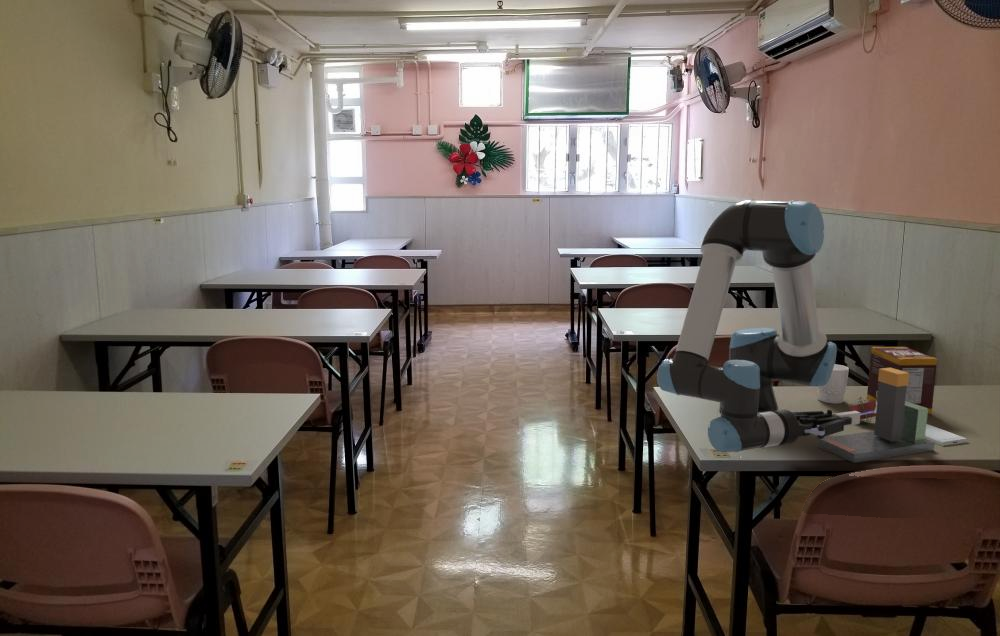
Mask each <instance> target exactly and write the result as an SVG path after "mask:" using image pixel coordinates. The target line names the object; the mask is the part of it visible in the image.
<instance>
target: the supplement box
mask: <svg viewBox="0 0 1000 636" xmlns="http://www.w3.org/2000/svg"><path fill="white" fill-rule="evenodd" d="M937 365H938V359H937V358H936V357H933V356H930V355H928V354H925V353H924V352H923V353H922V352H920V351H918V350H914V349H912V348H909V347H907V346H871V353H870V361H869V369H868V370H869V371H868V372H869V373H868V380H867V382H868V383H867V393H866V399H867V401H869V402H871V401H875V400H876V402H877V400H878V390H879V381H878V376H879V369H881V368H894V369H897V370H901V371H904V372H908V373H909V382H908V386H907V388H906V397H905V401H907V402H910V403H913V404H916V405H919V406H922V407H925V408H928V414H927V415H932V413H933V405H934V395H935V393H934V392H935V384H936V373H937Z"/></svg>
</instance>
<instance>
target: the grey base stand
mask: <svg viewBox="0 0 1000 636" xmlns="http://www.w3.org/2000/svg"><path fill="white" fill-rule="evenodd" d="M928 415H929V414H928V408H925V407H922V406H919V405H916V404H913V403H910V402H907V401H905V406H904V416H903V425H902V435H901V440H897V441H889V440H886V439H884V438H881V437H879V436H876V435H874V430H871V431H864V432H857V433H849V434H843V435H841V434H840V435H835V436H830V437H829V436H826V437H824V438H823V439H819V438H818V445H817V447H819V448H820V449H822V450H824V451H828V452H830V453H831V454H834V455H836V456H838V457H839V458H842V459H845V460H847V461H848V462H851V463H854V464H855V463H862V462H868V461H875V460H880V459H887V458H892V457H893V458H894V457H900V456H901V457H902V456H907V455H912V454H918V453H919V454H920V453H925V452H926V453H927V452H933V451H932V450H934V451H935V444H936V443H935V442H932V441H930V440H927V439H925V432H926V424H928V423H927V420H928Z"/></svg>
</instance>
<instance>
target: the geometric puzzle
mask: <svg viewBox="0 0 1000 636" xmlns="http://www.w3.org/2000/svg"><path fill="white" fill-rule="evenodd" d="M858 399H859V400H858V402H853V403H851V405H848V408H849V412H850V411H857V412H860V422H864V424H867V425H870V424H871V421H872V420H873V419H874V421H875V420H876V410H877V402H876V400H875V401H867V400H865V399H864V398H863V397H862V396H860V397H859V398H858ZM862 399H863V400H864V401H863V400H862ZM865 401H866V402H865ZM866 421H867V422H866ZM869 421H870V422H869Z"/></svg>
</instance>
